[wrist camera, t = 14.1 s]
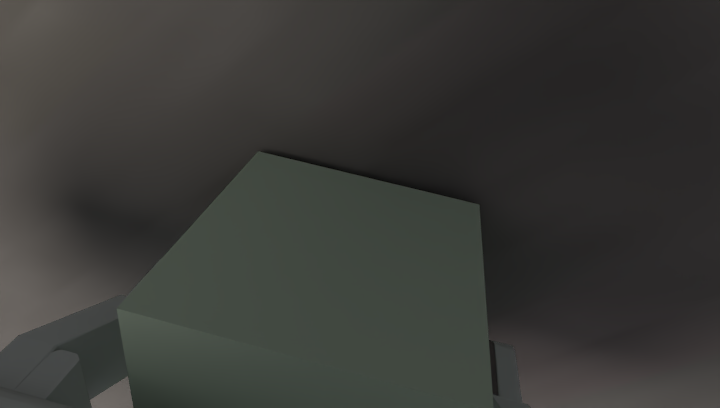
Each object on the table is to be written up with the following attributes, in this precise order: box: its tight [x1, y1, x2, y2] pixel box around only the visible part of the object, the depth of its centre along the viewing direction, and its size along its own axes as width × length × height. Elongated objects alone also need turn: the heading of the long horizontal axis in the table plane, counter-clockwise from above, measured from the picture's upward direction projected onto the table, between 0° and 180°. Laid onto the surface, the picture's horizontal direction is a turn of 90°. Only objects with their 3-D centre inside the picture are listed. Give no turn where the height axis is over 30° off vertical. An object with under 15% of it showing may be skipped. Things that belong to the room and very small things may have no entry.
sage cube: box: [116, 151, 494, 408], centre depth 11 cm, size 6×6×6 cm
